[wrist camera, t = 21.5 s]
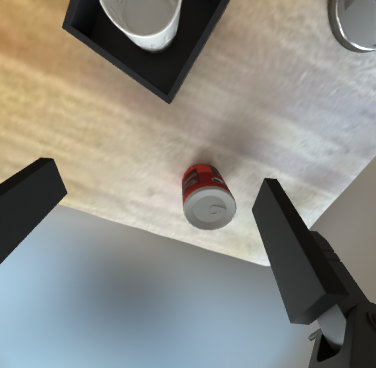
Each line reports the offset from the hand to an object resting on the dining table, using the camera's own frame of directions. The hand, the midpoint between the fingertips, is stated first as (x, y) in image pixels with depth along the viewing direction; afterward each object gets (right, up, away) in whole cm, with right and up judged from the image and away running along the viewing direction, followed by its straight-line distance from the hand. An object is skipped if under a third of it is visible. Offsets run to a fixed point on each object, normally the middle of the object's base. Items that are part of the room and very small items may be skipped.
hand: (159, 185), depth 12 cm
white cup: (-3, +22, +13) cm, 26 cm away
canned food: (+5, +1, +25) cm, 25 cm away
